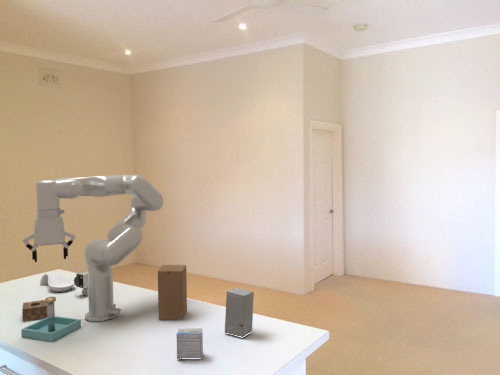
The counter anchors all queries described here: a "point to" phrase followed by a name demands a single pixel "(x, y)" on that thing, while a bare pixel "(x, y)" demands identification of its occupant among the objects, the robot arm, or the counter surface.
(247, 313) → the skincare box
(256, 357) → the counter surface
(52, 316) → the lock pin
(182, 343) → the medicine box
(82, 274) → the pneumatic valve
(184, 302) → the wooden block
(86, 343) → the counter surface
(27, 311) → the block
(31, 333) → the tray
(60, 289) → the spoon rest
